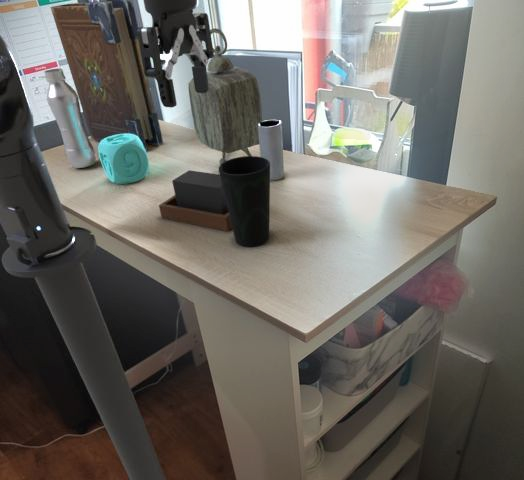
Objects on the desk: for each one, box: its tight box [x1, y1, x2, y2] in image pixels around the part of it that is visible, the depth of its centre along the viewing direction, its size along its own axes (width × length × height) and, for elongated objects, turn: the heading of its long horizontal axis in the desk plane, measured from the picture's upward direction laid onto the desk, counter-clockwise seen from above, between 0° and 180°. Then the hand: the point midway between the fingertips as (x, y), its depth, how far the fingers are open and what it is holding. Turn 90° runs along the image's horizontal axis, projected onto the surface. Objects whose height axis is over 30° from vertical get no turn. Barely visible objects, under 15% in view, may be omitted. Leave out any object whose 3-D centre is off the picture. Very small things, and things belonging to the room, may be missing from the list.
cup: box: [218, 155, 271, 248], centre depth 74 cm, size 8×8×12 cm
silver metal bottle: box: [43, 68, 97, 169], centre depth 106 cm, size 6×7×20 cm
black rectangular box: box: [171, 169, 229, 215], centre depth 84 cm, size 10×5×6 cm, turn 60°
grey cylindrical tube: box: [258, 119, 285, 181], centre depth 94 cm, size 4×4×10 cm
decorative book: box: [50, 0, 164, 152], centre depth 114 cm, size 23×7×30 cm, turn 50°
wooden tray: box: [158, 194, 233, 232], centre depth 86 cm, size 10×15×2 cm, turn 60°
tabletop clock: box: [188, 27, 263, 165], centre depth 97 cm, size 14×9×25 cm, turn 34°
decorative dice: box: [97, 133, 150, 185], centre depth 101 cm, size 8×8×8 cm
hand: (186, 99), depth 75 cm, fingers open, 8 cm apart
